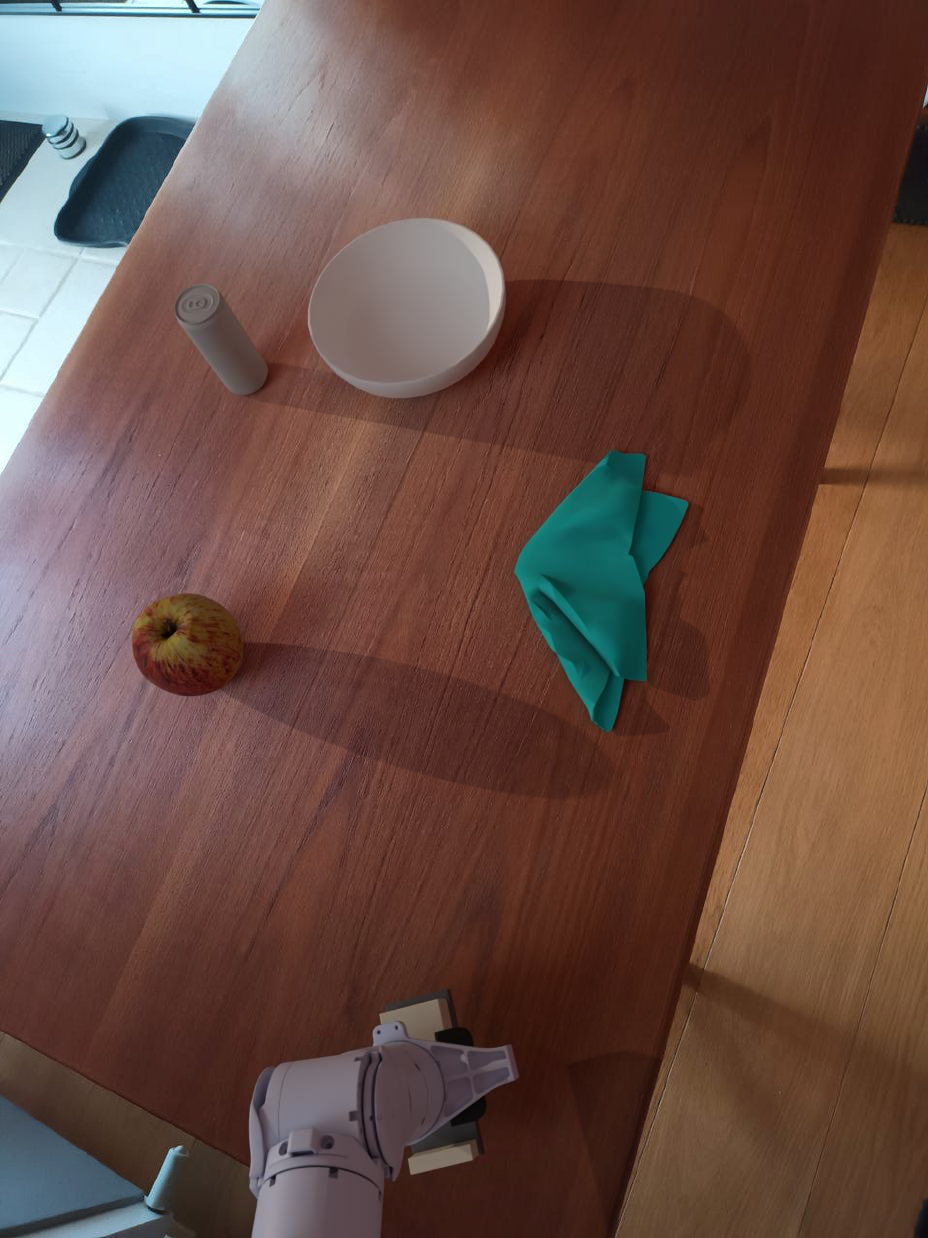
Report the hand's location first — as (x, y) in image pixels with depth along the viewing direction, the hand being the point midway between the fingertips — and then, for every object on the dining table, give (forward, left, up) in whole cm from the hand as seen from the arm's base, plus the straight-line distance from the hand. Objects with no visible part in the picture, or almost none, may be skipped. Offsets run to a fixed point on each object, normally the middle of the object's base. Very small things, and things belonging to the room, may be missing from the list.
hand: (431, 1077), depth 68 cm
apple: (+32, +25, -5) cm, 41 cm away
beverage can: (+63, +27, -5) cm, 69 cm away
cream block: (0, 0, -1) cm, 1 cm away
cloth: (+41, -9, -5) cm, 42 cm away
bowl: (+67, +9, -5) cm, 68 cm away
